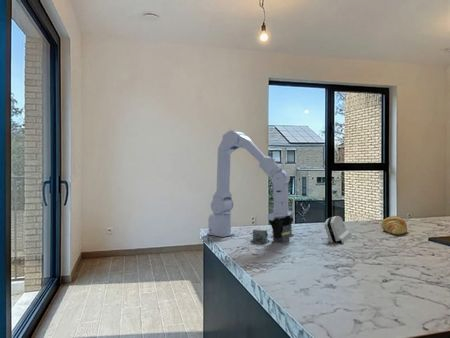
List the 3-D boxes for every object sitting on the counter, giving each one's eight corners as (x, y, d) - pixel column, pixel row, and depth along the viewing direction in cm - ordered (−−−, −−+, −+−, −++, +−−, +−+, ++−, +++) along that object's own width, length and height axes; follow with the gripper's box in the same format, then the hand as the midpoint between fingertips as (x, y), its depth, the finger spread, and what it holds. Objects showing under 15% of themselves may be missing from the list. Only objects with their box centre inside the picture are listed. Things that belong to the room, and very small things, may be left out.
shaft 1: (256, 238, 145) (256, 227, 145) (272, 239, 142) (272, 228, 142) (250, 241, 138) (250, 230, 138) (266, 243, 135) (266, 231, 135)
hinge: (343, 243, 133) (334, 217, 135) (331, 247, 135) (322, 221, 137) (351, 235, 148) (343, 212, 149) (340, 238, 150) (332, 215, 151)
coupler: (273, 240, 140) (272, 225, 140) (279, 238, 144) (279, 223, 143) (282, 242, 137) (282, 226, 137) (289, 240, 140) (289, 224, 140)
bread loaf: (404, 245, 146) (415, 228, 144) (380, 232, 148) (390, 215, 147) (397, 234, 166) (406, 219, 164) (376, 223, 168) (385, 208, 167)
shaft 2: (278, 237, 146) (278, 226, 146) (269, 234, 151) (269, 224, 151) (293, 235, 149) (293, 225, 149) (284, 233, 155) (284, 222, 155)
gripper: (278, 204, 132) (279, 241, 132) (299, 200, 143) (300, 235, 143) (263, 202, 137) (263, 238, 137) (284, 199, 147) (285, 232, 148)
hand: (281, 236), depth 140 cm, fingers closed on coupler, 5 cm apart
